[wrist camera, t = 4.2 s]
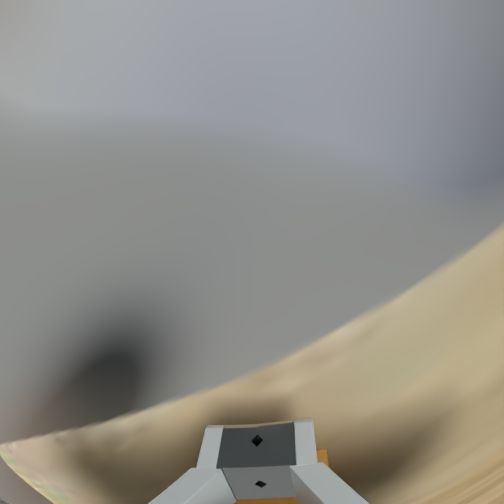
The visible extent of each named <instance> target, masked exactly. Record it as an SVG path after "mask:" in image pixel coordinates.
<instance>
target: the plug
mask: <svg viewBox="0 0 504 504" xmlns="http://www.w3.org/2000/svg"><path fill="white" fill-rule="evenodd" d="M316 452H317V462H318V463H319V462H323V463H325V464H326V465H327V466H328V467H329V465H328V457H327V449H323V450H316ZM234 504H300V503H299V502H298V501H297V500H296V498H295V497H283V498H257V499H236V502H235V503H234Z"/></svg>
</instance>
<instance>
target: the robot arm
mask: <svg viewBox="0 0 504 504" xmlns="http://www.w3.org/2000/svg"><path fill="white" fill-rule="evenodd" d="M283 497H295V498H296V500H297V501H298V502H299V503H300V504H369V503H368V502H367V501H366V500H365V499H363V498H362V497H361V496H360V495H359V494H358V493H357V492H355V491H354V490H353V489H352V488H351V487H350V486H349V485H347V484H346V483H345V482H344V481H343V480H342V479H341V478H340V477H339V476H337V475H336V474H335V473H334V472H333V471H332V470H331V469H330V468H329V467H328V466H327V465H326V464H325V463H323V462H319V463H318V462H317V452H316V443H315V433H314V425H313V419H312V418H308V419H300V420H290V421H281V422H270V423H259V424H242V425H208V426H207V427H206V429H205V432H204V436H203V441H202V445H201V449H200V453H199V457H198V461H197V466H196V468H190V469H189V470H188V471H187V472H186V473H184V474H183V475H182V476H181V477H180V478H179V479H177V480H176V481H175V482H174V483H173V484H171V485H170V486H169V487H168V488H167V489H165V490H164V491H163V492H162V493H161V494H159V495H158V496H157V497H156V498H154V499H153V500H152V501H151V502H149V503H148V504H234V503H235V502H236V499H257V498H283ZM0 504H9V503H7V502H5V501H4V500H2V499H0Z"/></svg>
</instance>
